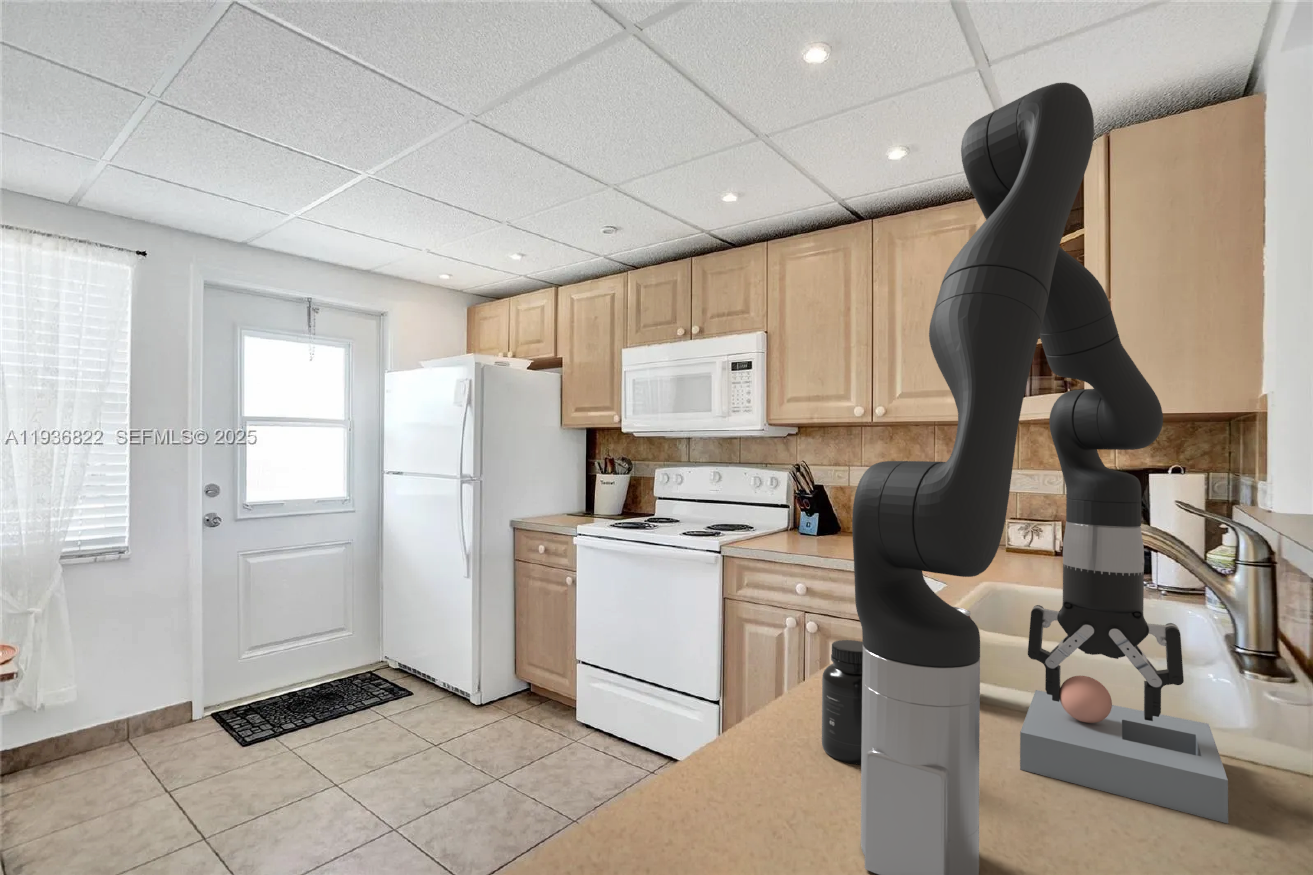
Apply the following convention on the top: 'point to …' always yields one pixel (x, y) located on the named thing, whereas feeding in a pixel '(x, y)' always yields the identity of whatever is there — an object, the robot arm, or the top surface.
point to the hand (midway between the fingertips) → (1100, 708)
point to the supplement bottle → (843, 702)
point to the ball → (1085, 699)
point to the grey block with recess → (1128, 756)
